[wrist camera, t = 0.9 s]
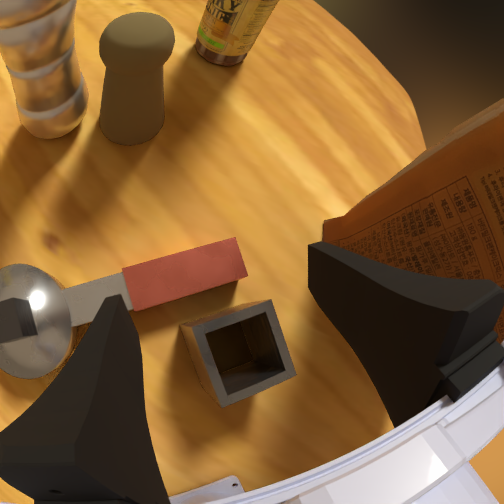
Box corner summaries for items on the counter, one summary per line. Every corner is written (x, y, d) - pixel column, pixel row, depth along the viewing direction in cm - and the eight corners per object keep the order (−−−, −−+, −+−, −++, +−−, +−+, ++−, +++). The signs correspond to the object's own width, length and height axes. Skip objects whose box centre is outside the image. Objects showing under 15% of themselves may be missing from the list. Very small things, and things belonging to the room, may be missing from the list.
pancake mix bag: (380, 392, 28) (654, 404, 2) (281, 232, 27) (610, 29, 2) (416, 349, 30) (656, 326, 5) (331, 199, 30) (589, 38, 4)
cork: (88, 137, 23) (75, 45, 13) (114, 87, 25) (118, -4, 15) (152, 152, 25) (166, 61, 15) (172, 101, 26) (196, 11, 16)
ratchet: (248, 309, 25) (276, 306, 20) (7, 382, 17) (-23, 395, 12) (217, 215, 26) (237, 190, 21) (-18, 283, 18) (-52, 273, 13)
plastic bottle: (67, 157, 22) (21, -63, 4) (13, 136, 21) (-53, -45, 2) (103, 102, 24) (114, -101, 6) (50, 85, 22) (31, -93, 4)
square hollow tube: (262, 364, 24) (296, 374, 19) (202, 387, 22) (221, 407, 17) (241, 304, 25) (271, 299, 19) (179, 325, 23) (191, 327, 17)
